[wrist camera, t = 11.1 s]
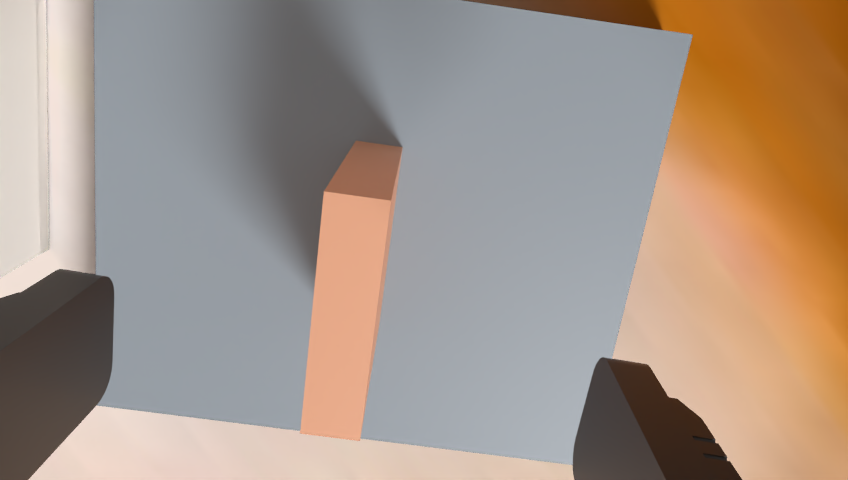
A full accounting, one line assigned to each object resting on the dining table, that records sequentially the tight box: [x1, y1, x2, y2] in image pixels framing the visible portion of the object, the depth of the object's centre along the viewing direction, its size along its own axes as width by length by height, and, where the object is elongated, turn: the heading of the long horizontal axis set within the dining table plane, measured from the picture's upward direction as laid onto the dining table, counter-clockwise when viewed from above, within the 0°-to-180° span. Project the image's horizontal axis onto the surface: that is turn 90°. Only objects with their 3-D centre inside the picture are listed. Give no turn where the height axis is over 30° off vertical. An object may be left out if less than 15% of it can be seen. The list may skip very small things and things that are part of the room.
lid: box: [94, 0, 693, 465], centre depth 16 cm, size 14×12×8 cm
